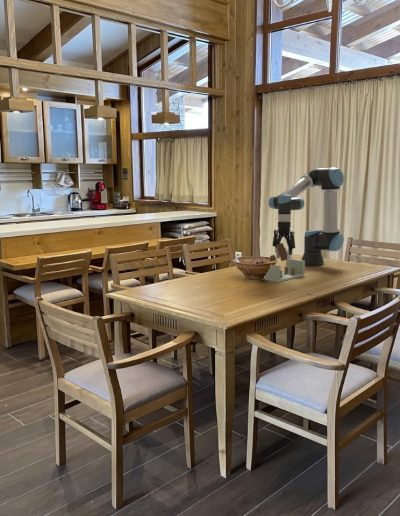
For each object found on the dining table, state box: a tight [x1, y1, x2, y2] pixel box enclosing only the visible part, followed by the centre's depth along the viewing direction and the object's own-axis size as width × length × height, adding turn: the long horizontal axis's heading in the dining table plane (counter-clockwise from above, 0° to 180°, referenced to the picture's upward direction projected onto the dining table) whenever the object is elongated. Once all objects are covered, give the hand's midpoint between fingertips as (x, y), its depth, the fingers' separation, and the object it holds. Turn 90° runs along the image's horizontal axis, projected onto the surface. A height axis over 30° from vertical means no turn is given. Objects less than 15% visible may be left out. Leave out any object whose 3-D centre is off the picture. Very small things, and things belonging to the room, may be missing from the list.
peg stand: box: [263, 258, 306, 283], centre depth 294 cm, size 25×13×9 cm, turn 133°
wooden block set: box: [269, 242, 287, 263], centre depth 294 cm, size 18×9×10 cm, turn 147°
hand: (283, 259), depth 293 cm, fingers closed on wooden block set, 8 cm apart
